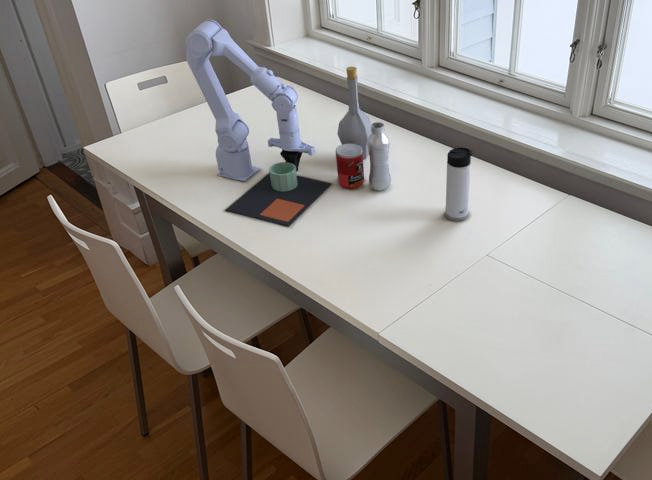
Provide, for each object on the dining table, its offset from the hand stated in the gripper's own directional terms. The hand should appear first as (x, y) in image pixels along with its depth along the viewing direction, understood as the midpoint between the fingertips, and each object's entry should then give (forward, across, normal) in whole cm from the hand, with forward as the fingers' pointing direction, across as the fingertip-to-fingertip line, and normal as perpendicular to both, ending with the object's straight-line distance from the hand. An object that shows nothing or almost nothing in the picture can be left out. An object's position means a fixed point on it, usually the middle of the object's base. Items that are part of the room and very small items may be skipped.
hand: (294, 171), depth 198 cm
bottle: (+2, -13, -15) cm, 20 cm away
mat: (+2, -2, +12) cm, 12 cm away
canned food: (+2, -17, -3) cm, 17 cm away
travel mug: (+2, -52, +1) cm, 52 cm away
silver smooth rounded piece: (+2, -26, -4) cm, 26 cm away
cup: (+1, 0, +6) cm, 6 cm away
